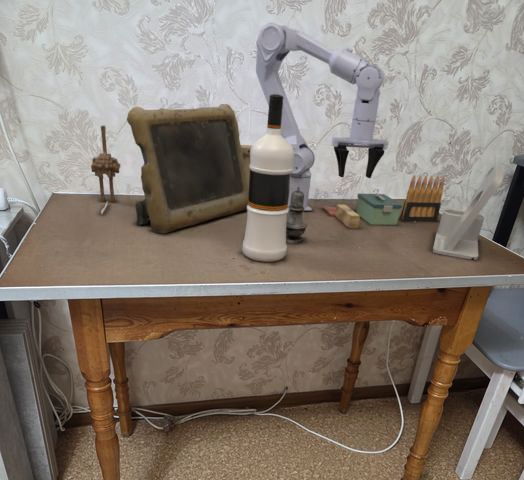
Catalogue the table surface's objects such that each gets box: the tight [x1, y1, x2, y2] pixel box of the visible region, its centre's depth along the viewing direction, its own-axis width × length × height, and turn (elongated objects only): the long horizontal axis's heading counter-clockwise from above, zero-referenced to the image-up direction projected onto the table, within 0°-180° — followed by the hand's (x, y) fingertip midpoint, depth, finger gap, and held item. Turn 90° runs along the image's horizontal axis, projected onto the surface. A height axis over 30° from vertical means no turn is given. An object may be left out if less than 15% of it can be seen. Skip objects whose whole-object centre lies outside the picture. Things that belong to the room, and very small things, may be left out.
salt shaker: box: [286, 186, 308, 245], centre depth 108 cm, size 6×6×12 cm
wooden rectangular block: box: [322, 203, 361, 229], centre depth 130 cm, size 18×5×3 cm, turn 12°
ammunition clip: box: [399, 174, 446, 222], centre depth 131 cm, size 11×2×12 cm, turn 104°
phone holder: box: [432, 165, 504, 261], centre depth 112 cm, size 17×10×18 cm, turn 159°
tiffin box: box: [355, 192, 403, 226], centre depth 131 cm, size 8×12×6 cm, turn 12°
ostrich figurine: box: [90, 124, 121, 214], centre depth 119 cm, size 17×7×18 cm, turn 7°
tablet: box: [126, 103, 249, 235], centre depth 115 cm, size 33×14×25 cm, turn 148°
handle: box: [240, 144, 252, 190], centre depth 132 cm, size 5×6×15 cm
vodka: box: [241, 94, 294, 263], centre depth 94 cm, size 9×9×30 cm
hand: (354, 176), depth 127 cm, fingers open, 7 cm apart
